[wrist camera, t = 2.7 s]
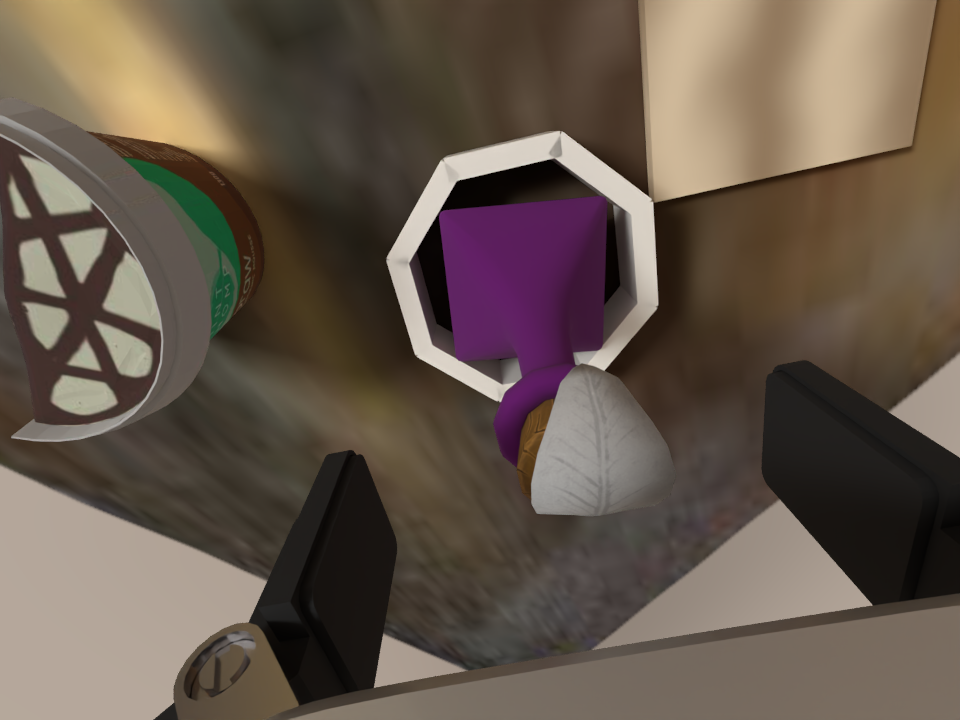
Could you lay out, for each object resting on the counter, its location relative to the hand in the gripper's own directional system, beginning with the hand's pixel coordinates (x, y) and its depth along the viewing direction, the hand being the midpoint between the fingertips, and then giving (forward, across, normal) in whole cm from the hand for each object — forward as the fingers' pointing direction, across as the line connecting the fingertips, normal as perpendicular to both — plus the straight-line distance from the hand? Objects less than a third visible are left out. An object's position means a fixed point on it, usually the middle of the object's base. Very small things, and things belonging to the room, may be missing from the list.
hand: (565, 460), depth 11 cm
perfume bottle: (+16, -1, 0) cm, 16 cm away
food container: (+16, +14, -4) cm, 22 cm away
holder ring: (+16, -1, 0) cm, 16 cm away
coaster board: (+16, -14, -8) cm, 23 cm away
